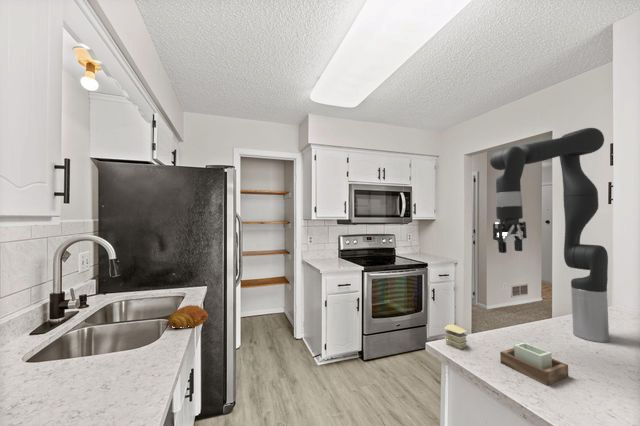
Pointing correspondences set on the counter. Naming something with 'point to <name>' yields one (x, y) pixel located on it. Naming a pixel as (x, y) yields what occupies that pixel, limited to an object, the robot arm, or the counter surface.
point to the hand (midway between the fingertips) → (510, 251)
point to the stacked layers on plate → (455, 336)
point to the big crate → (535, 368)
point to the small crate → (533, 355)
